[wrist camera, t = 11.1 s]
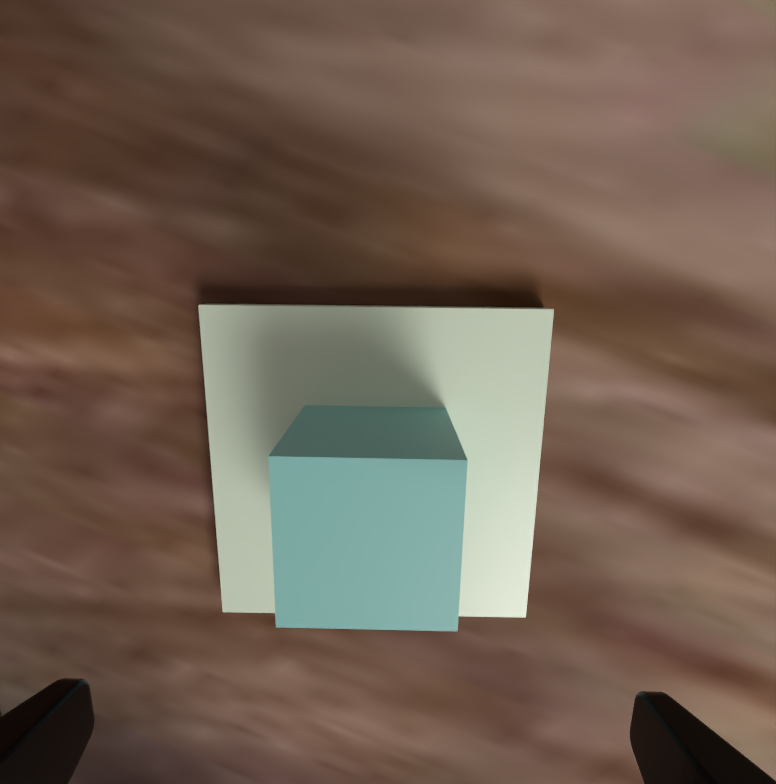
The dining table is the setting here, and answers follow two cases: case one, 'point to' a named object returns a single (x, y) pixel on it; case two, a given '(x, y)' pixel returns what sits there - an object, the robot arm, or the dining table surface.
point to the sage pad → (380, 389)
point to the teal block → (368, 519)
